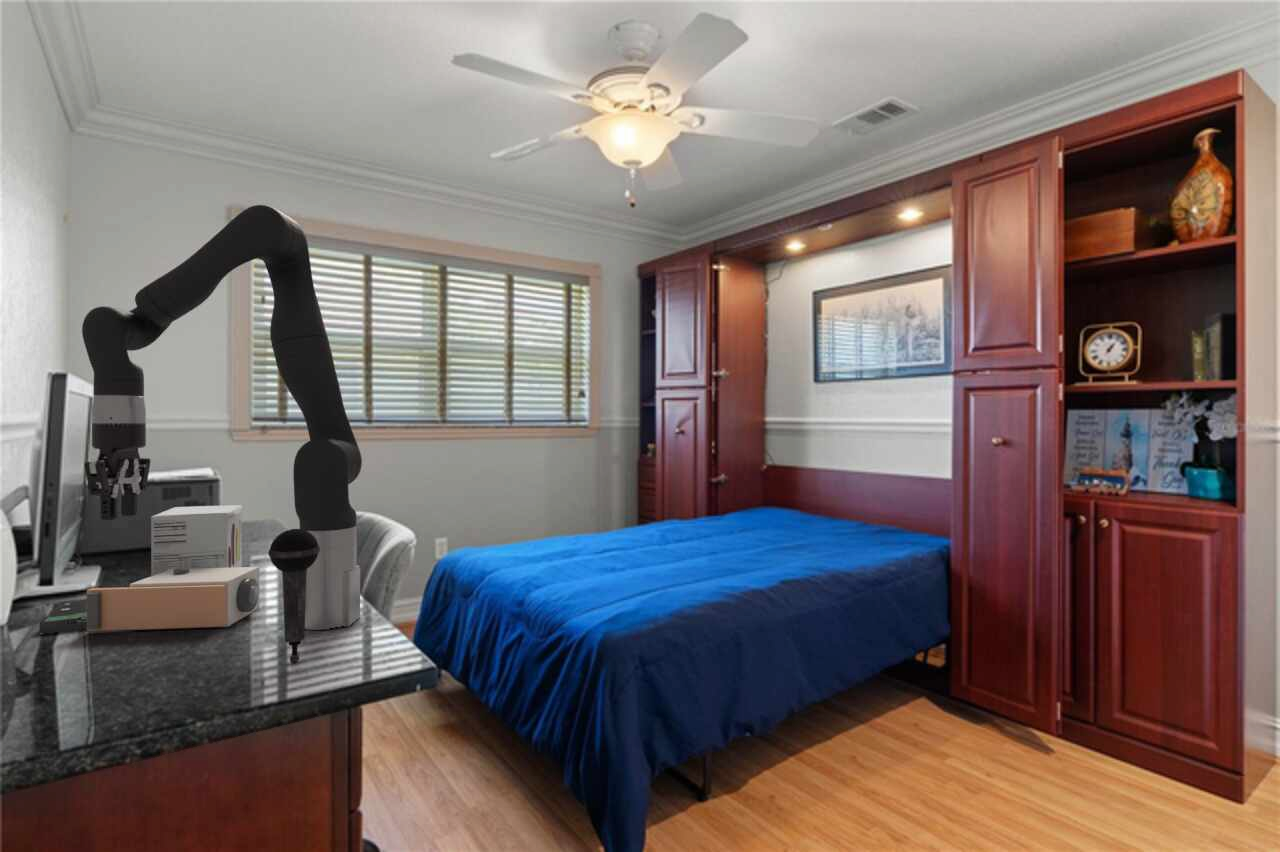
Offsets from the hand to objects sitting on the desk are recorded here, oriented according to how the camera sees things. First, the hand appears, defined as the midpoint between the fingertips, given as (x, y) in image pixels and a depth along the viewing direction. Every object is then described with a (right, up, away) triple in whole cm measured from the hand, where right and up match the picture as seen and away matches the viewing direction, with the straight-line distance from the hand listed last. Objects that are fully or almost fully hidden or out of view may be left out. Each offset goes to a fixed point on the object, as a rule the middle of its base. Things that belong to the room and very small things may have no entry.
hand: (119, 517), depth 116 cm
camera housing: (+11, -19, +4) cm, 23 cm away
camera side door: (+9, -19, -3) cm, 21 cm away
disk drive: (-9, -20, +4) cm, 22 cm away
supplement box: (0, -20, +21) cm, 29 cm away
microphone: (+41, -19, -18) cm, 49 cm away
